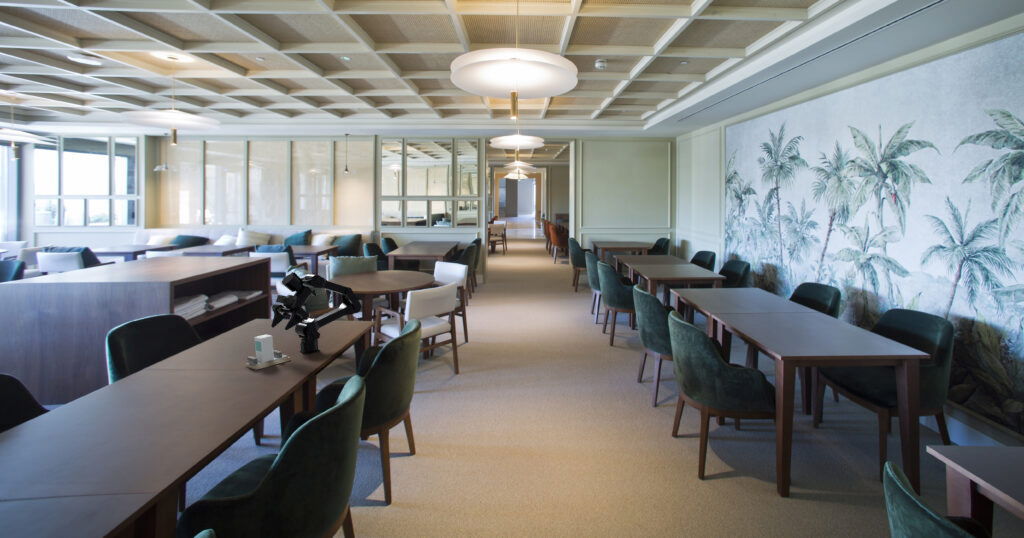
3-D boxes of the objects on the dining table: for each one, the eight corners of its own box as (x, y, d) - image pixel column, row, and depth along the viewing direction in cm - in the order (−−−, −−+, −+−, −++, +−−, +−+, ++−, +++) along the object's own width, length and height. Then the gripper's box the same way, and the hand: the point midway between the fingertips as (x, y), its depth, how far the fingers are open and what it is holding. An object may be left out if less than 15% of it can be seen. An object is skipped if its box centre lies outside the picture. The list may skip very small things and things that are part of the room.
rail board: (280, 357, 221) (280, 347, 221) (290, 360, 217) (289, 350, 217) (245, 366, 209) (245, 356, 209) (255, 369, 205) (254, 359, 204)
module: (267, 357, 215) (265, 334, 214) (274, 359, 213) (272, 335, 211) (255, 361, 210) (254, 337, 209) (262, 362, 208) (260, 338, 207)
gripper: (273, 285, 223) (251, 315, 215) (301, 289, 214) (279, 320, 206) (291, 300, 231) (270, 329, 223) (318, 304, 221) (297, 335, 213)
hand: (278, 328), depth 216 cm, fingers open, 9 cm apart
